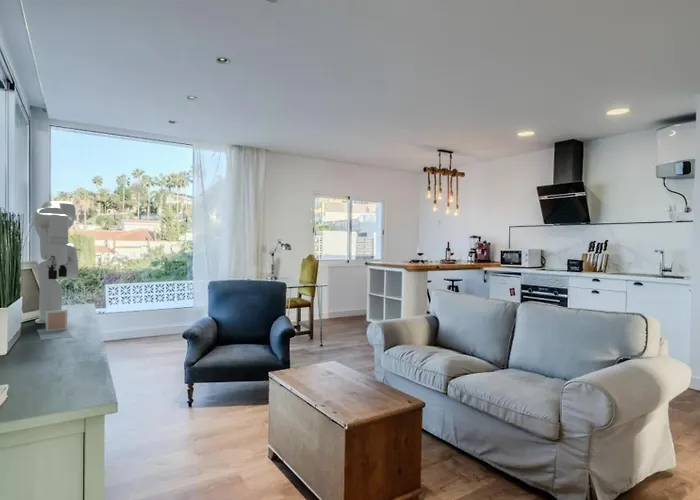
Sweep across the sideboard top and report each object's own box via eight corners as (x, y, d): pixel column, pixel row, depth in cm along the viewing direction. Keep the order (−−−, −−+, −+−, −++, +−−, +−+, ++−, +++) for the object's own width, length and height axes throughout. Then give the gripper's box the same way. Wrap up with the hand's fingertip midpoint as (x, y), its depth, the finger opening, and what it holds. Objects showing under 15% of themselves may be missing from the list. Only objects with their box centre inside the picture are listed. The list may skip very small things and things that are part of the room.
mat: (36, 330, 192) (36, 329, 192) (65, 327, 199) (65, 326, 199) (41, 340, 174) (41, 339, 174) (72, 337, 181) (72, 336, 181)
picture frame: (45, 330, 191) (45, 311, 191) (66, 328, 196) (66, 309, 196) (46, 331, 190) (46, 311, 189) (67, 329, 195) (67, 310, 195)
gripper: (58, 240, 198) (57, 275, 198) (39, 241, 181) (38, 279, 181) (75, 240, 199) (74, 276, 200) (58, 241, 182) (58, 280, 183)
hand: (57, 277), depth 191 cm, fingers open, 9 cm apart
